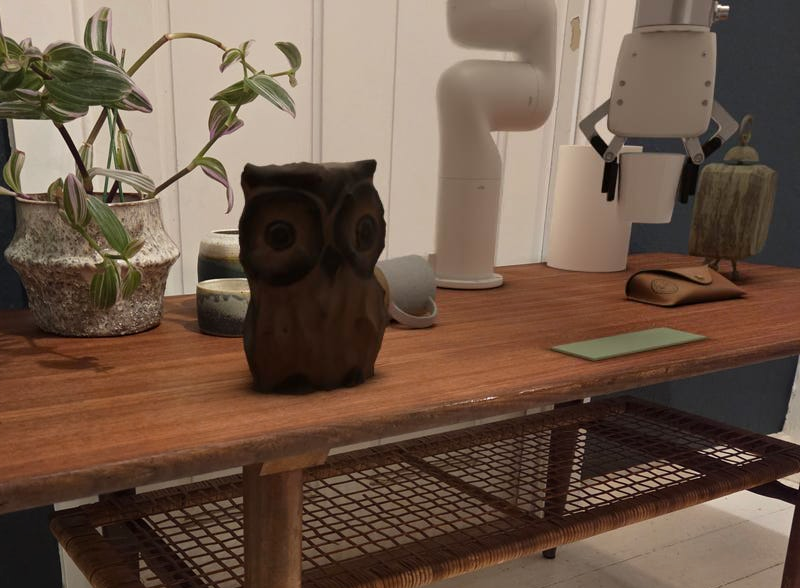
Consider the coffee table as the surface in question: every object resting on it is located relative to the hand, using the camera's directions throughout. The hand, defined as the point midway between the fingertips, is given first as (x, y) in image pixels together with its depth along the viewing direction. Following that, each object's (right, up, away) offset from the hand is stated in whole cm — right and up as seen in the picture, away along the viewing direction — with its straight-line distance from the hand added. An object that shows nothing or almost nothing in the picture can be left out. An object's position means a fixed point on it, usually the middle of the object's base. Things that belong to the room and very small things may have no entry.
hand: (645, 200), depth 96 cm
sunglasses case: (+18, -4, +32) cm, 37 cm away
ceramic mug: (-25, -11, +15) cm, 31 cm away
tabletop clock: (+31, +2, +49) cm, 58 cm away
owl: (-37, -21, -10) cm, 43 cm away
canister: (+12, +7, +60) cm, 62 cm away
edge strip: (0, -15, +4) cm, 16 cm away
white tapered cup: (0, -2, +1) cm, 2 cm away
